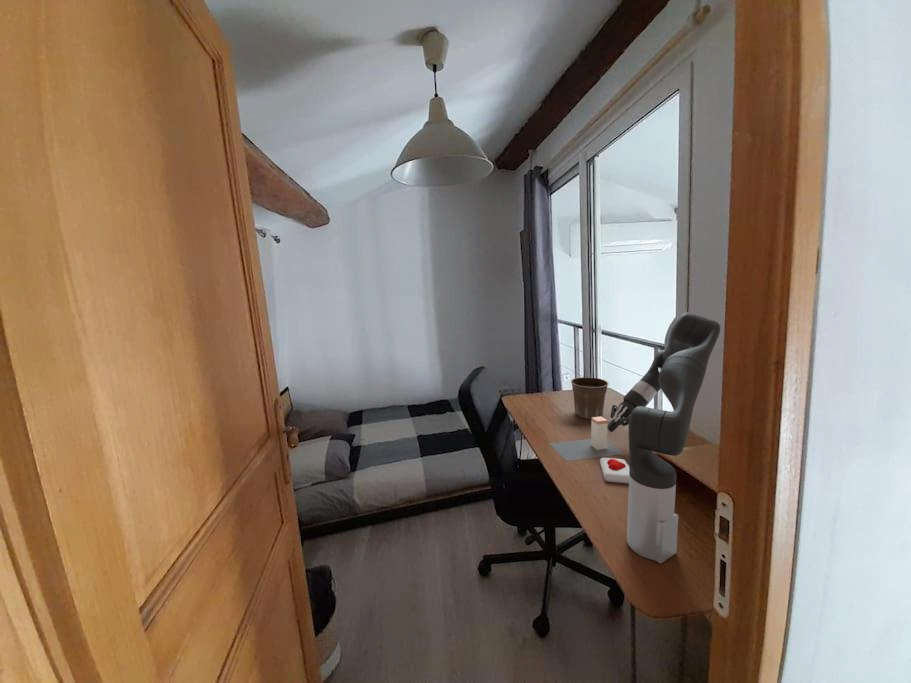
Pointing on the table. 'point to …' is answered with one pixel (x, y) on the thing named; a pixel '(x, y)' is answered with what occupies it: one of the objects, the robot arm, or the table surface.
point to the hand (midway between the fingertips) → (608, 430)
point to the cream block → (599, 432)
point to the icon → (615, 470)
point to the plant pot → (589, 396)
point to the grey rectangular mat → (583, 450)
